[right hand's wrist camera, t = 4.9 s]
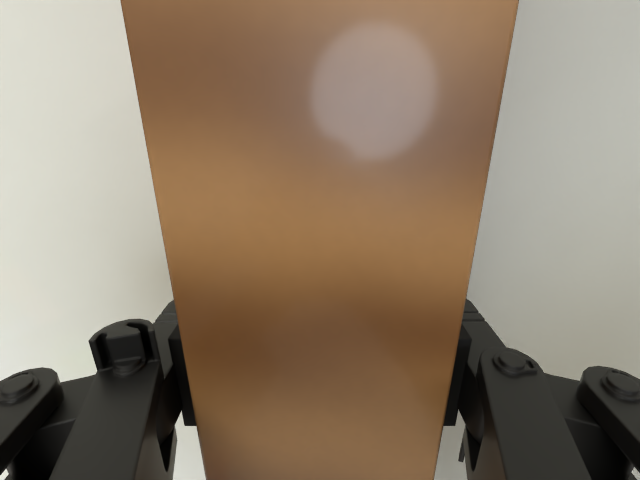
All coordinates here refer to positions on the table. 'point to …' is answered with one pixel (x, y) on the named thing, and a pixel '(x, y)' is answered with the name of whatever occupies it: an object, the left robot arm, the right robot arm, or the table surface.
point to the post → (319, 218)
